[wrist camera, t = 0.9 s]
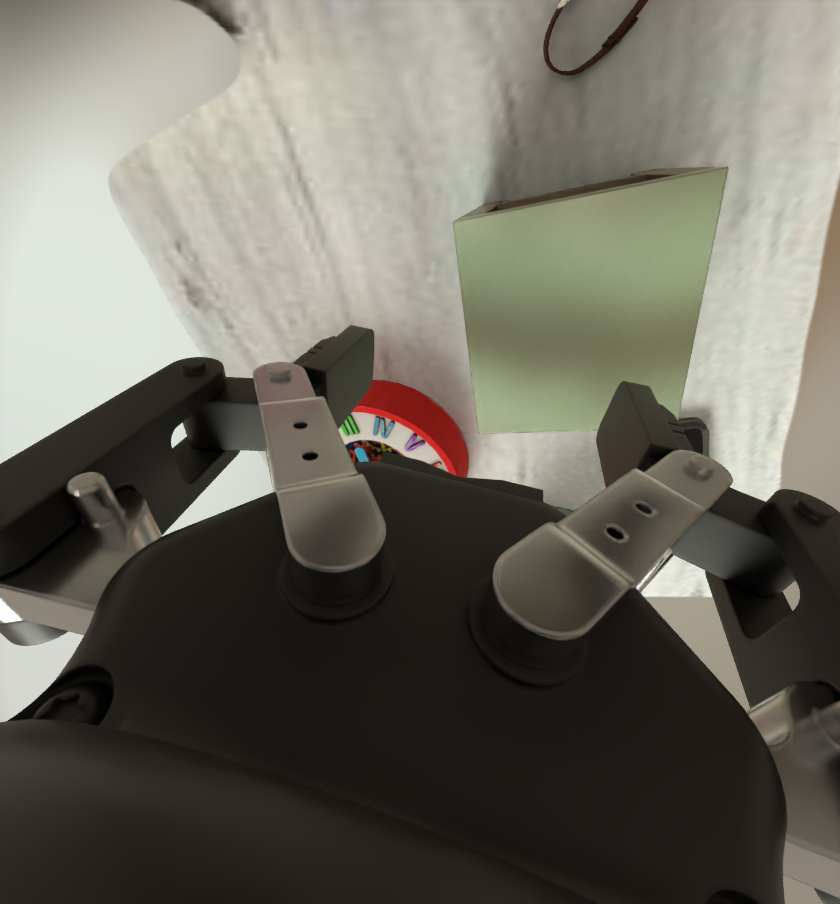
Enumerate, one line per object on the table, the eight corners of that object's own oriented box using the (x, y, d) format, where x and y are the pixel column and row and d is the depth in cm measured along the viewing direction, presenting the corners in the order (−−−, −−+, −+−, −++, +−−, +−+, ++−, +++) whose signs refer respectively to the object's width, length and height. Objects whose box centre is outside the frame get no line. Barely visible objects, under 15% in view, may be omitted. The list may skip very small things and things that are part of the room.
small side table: (482, 204, 31) (452, 221, 20) (655, 168, 27) (729, 166, 16) (495, 360, 38) (478, 434, 27) (634, 348, 34) (676, 428, 23)
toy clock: (481, 543, 44) (336, 550, 52) (487, 508, 49) (352, 520, 56) (425, 386, 35) (256, 424, 42) (438, 361, 39) (284, 399, 47)
